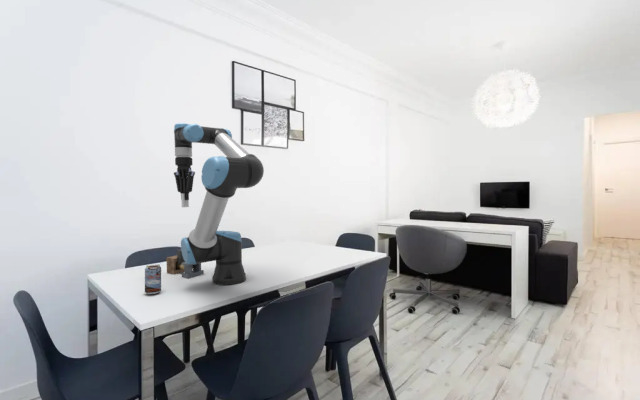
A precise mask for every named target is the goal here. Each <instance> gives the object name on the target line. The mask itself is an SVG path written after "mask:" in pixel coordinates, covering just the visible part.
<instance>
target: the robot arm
mask: <svg viewBox="0 0 640 400" xmlns="http://www.w3.org/2000/svg"><path fill="white" fill-rule="evenodd" d="M173 127H174V128H173V135H174V156H175V160H174V161H175V162H174V163H175V166H176V167H177V168H176V171H175V172H173V175H174V178H175V183H176V189H177V192H178V193H180V199H181V208H189V207H190V206H189V205H190V203H189V199H190V193H192V192H193V187H194V186H193V185H194V178H195V174H196V172H195V171H193V170H192V167H191V166H193V158H192V157H193V143H195V144H206V145H207V144H209V145H210V144H211V145H215V146H216V147H217V148H218V149H219V150H220V151H221V152H222V153H223V154H224V155H220V156H211V157H208V158H207V159H206V160H205V162H204V163H203V166H202V168H201V183H202V185H203V187H204V189H205V190H206V193H205V196H204V198H203V199H204V200H203V201H202V206H201V209H200V210H199V214H198V218H197V221H196V224H195V228H194V229H192V230H191V231H190V232H189V234H188V237H186V236H185V237H183V238H182V239H181V241H180V250H181V251H182V255H183V258H184V261H185V262H186V263H187V264H198V263H201V264H203V263H208V262H209V263H210V262H213V261H215V267H214V272H213V274H212V278H211V279H212V280H211V281H212V283H213V284H214V285H218V286H219V285H220V286H228V285H237V284H241V283H243V282H245V281H246V280H247V275H246V272H245V268H244V265H243V262H242V261H243V256H242V250H243V248H242V247H243V246H242V243H243V241H242V235H241V233H240V232H238V231H231V230H218V229H219V226H220V224H221V220H222V217H223V215H224V213H225V209H226V207H227V204H228V201H229V199H231V198H232V197H234V196H235V194H236V191H237V190H238V189H247V188H250V189H251V188H253V187H255V186H256V185H258V184H259V183H260V182H261V180H262V179H263V177H264V171H265V170H264V165H263V163H262V161H261V160H260V159H259V158H258V157H257V156H256V155H254V154H252V153H249V152H248V151H247V149H246V150H245V148H243V147H242V146H241V145H240V144H239V143H238V142H237V141H236V140H235V139H233V134H232V132H231V131H230V129H227V128H221V127H220V128H219V127H210V126H202V125H201V126H200V125H199V124H198V123H197V124H196V123H190V124H189V123H185V122H182V123H181V122H179V123H175V125H174V126H173Z"/></svg>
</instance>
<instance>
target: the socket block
mask: <svg viewBox="0 0 640 400" xmlns="http://www.w3.org/2000/svg"><path fill="white" fill-rule="evenodd" d="M165 261H166V273H167V274H168V275H169V274H170V275H178V274H182V273H184V269H180V268H176V263H175V262H177V255H173V256H167V257H166V260H165Z"/></svg>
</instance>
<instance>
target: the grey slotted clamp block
mask: <svg viewBox="0 0 640 400" xmlns="http://www.w3.org/2000/svg"><path fill="white" fill-rule="evenodd" d="M181 265H184V272H182V273H181V278H184V279H188V280H189V279H192V278H195V277H200V276H202V275H204V274H205V273H204V272H205V271H204V270H202V263H198V264H187V263H186V262H184V263H181ZM192 265H193V268H192Z"/></svg>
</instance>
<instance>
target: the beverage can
mask: <svg viewBox="0 0 640 400" xmlns="http://www.w3.org/2000/svg"><path fill="white" fill-rule="evenodd" d="M161 291H162V266H161V265H160V264H158V263H157V264H156V263H155V264H147V265H146V267H144V293H146V294H147V295H153V294H154V295H155V294H160V292H161Z"/></svg>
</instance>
